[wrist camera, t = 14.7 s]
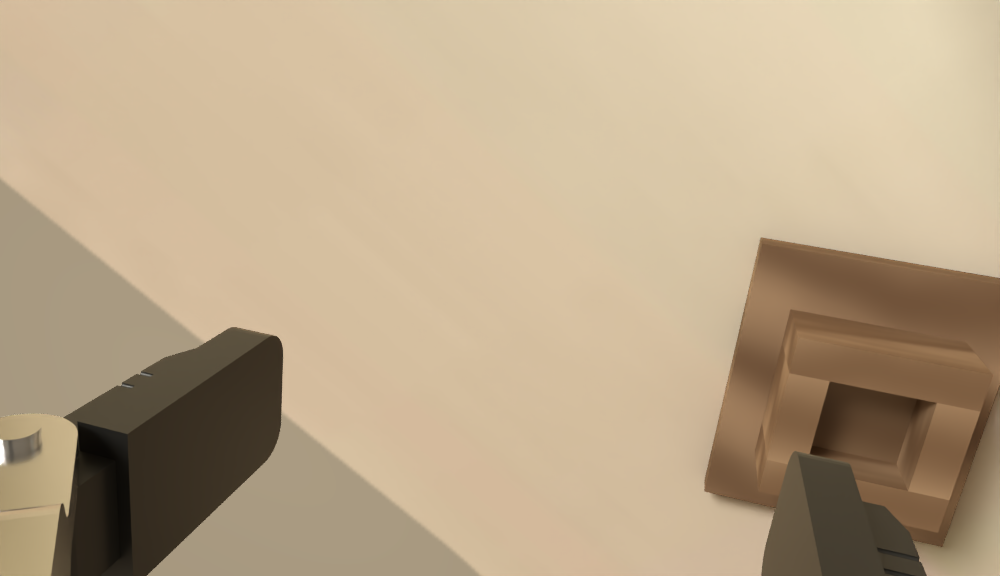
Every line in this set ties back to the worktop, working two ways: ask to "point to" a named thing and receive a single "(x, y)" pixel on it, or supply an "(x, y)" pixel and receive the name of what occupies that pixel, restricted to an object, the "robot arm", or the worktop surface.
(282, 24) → the worktop surface
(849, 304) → the stand
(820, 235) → the worktop surface
